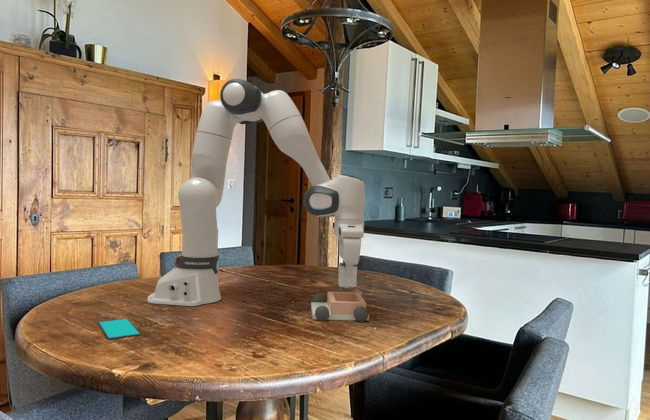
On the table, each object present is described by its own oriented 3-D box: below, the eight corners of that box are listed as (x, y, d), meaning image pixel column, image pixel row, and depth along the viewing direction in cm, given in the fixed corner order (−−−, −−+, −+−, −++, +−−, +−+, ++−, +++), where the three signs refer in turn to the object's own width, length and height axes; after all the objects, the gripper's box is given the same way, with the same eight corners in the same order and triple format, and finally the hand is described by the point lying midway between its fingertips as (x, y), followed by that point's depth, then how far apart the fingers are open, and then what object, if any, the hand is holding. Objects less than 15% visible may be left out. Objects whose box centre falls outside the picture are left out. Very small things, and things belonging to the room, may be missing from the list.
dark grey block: (339, 286, 136) (340, 264, 136) (338, 283, 140) (338, 262, 140) (356, 286, 137) (357, 265, 137) (354, 284, 141) (355, 262, 141)
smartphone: (127, 318, 124) (141, 333, 111) (127, 321, 124) (141, 337, 111) (97, 321, 119) (107, 338, 107) (97, 325, 119) (107, 342, 107)
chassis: (313, 320, 130) (313, 303, 129) (310, 305, 147) (311, 290, 146) (369, 322, 131) (370, 304, 131) (361, 306, 148) (361, 291, 148)
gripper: (335, 225, 148) (333, 269, 149) (342, 231, 128) (340, 281, 128) (354, 226, 149) (353, 269, 149) (364, 232, 128) (362, 281, 129)
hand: (347, 275), depth 138 cm, fingers closed on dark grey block, 4 cm apart
